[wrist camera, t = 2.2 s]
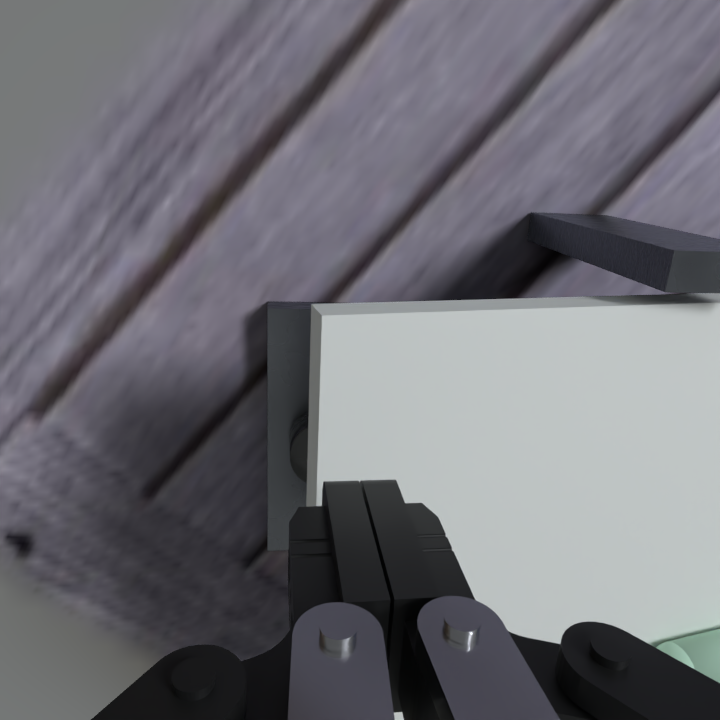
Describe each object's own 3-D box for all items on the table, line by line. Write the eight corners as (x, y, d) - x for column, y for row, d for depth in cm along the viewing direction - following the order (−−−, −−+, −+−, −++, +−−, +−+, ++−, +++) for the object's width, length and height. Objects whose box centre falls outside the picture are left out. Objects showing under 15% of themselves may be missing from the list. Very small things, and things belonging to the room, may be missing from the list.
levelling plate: (911, 287, 20) (1016, 308, 17) (789, 630, 24) (859, 685, 22) (310, 303, 14) (344, 339, 11) (300, 755, 18) (322, 849, 16)
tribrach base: (832, 224, 24) (1110, 264, 16) (725, 580, 29) (892, 741, 22) (267, 201, 21) (263, 237, 13) (267, 604, 26) (264, 802, 18)
